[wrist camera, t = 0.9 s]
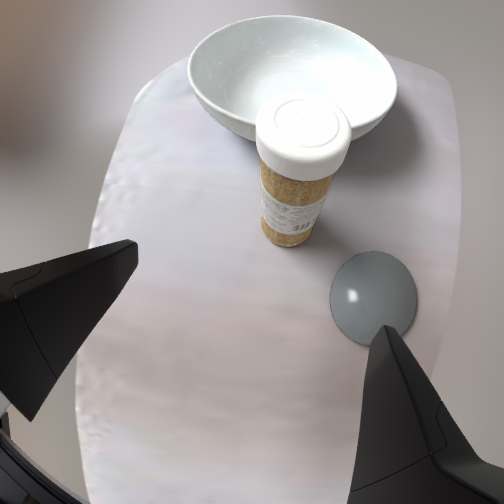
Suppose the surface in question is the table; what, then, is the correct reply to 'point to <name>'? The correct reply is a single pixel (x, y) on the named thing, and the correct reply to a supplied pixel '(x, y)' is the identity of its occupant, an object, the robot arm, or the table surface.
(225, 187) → the table surface
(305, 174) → the sprinkles bottle
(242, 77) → the serving bowl
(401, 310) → the coaster
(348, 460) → the table surface
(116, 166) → the table surface
